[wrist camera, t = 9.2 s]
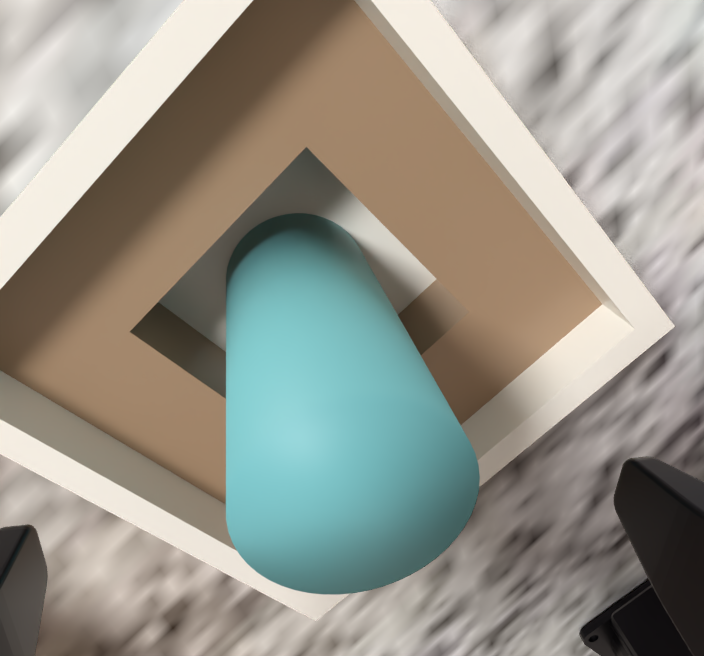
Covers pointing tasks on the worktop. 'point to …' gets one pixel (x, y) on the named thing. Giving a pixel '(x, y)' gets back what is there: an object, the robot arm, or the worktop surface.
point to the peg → (332, 419)
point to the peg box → (279, 199)
